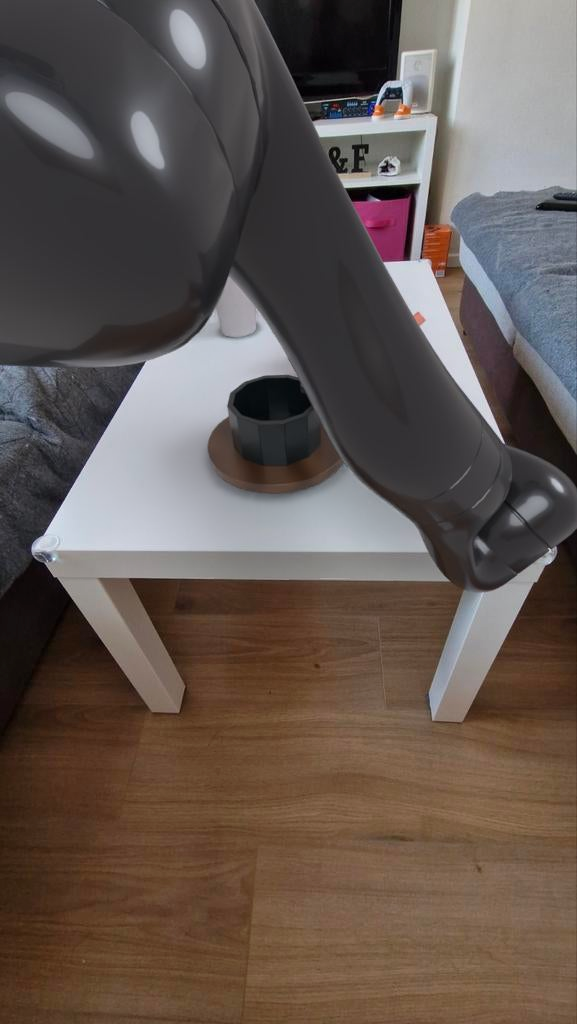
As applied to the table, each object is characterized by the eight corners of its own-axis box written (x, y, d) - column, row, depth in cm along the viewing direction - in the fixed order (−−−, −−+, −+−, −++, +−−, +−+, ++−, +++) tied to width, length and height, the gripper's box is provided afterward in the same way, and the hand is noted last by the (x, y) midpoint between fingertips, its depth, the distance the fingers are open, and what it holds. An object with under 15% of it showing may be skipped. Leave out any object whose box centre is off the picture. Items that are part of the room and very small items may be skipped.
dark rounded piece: (243, 513, 55) (223, 393, 45) (189, 434, 67) (163, 324, 56) (376, 460, 61) (386, 342, 50) (304, 396, 72) (300, 289, 62)
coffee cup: (204, 337, 90) (188, 248, 80) (227, 316, 96) (215, 231, 86) (251, 343, 87) (240, 252, 77) (272, 321, 94) (265, 234, 83)
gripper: (460, 357, 45) (376, 294, 57) (326, 388, 43) (268, 316, 55) (447, 426, 50) (373, 355, 62) (326, 457, 48) (274, 377, 60)
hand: (324, 337), depth 59 cm, fingers closed
